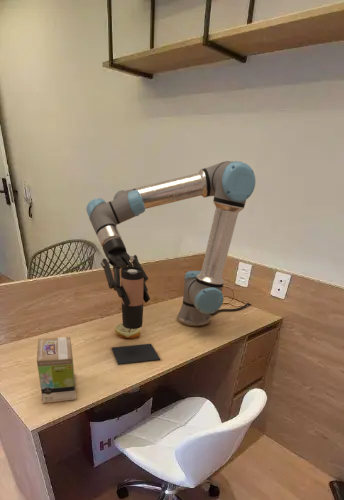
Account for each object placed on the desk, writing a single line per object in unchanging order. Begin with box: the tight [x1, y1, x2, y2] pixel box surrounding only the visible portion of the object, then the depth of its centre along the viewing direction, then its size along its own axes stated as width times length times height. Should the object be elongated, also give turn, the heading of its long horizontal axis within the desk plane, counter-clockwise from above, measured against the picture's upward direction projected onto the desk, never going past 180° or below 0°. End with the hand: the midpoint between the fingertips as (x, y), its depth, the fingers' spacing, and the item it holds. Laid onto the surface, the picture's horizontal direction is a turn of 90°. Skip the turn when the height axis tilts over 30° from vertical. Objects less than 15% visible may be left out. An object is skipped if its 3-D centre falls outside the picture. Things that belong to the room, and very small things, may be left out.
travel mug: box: [120, 265, 145, 329], centre depth 118 cm, size 8×8×20 cm
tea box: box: [36, 336, 77, 404], centre depth 105 cm, size 15×10×15 cm, turn 17°
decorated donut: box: [114, 322, 142, 340], centre depth 144 cm, size 10×11×4 cm
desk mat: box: [111, 343, 161, 366], centre depth 130 cm, size 16×13×1 cm
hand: (138, 302), depth 116 cm, fingers closed on travel mug, 7 cm apart
